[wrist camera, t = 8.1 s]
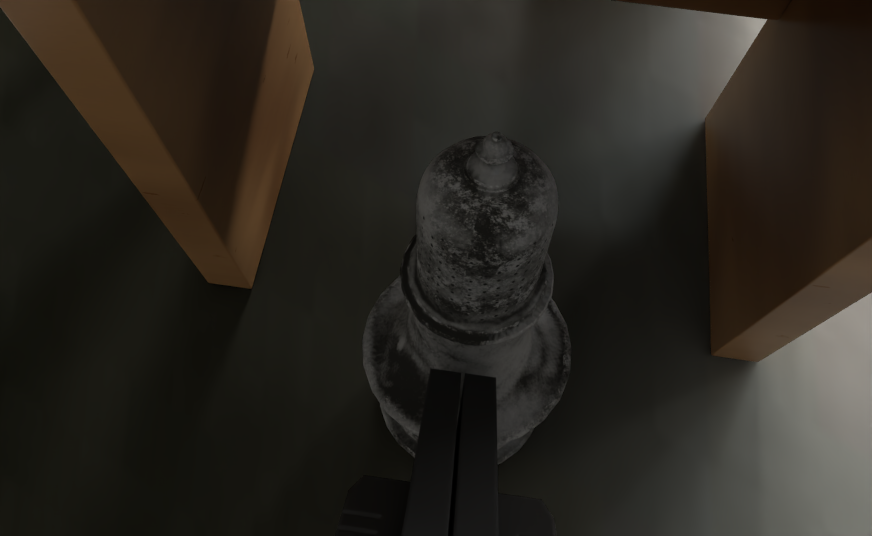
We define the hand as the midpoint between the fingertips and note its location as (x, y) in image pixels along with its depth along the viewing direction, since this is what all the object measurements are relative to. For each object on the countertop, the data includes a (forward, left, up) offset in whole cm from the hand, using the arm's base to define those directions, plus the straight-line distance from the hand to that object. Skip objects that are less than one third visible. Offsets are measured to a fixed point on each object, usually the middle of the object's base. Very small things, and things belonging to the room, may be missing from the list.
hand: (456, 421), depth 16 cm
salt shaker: (+1, -2, -5) cm, 5 cm away
